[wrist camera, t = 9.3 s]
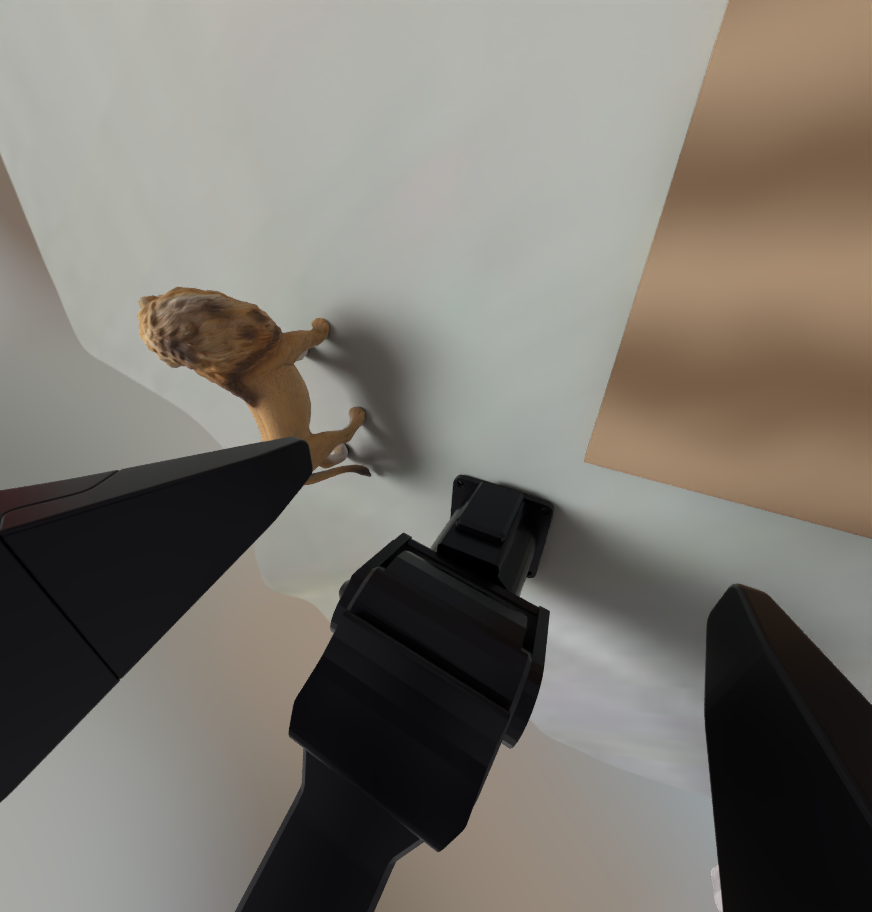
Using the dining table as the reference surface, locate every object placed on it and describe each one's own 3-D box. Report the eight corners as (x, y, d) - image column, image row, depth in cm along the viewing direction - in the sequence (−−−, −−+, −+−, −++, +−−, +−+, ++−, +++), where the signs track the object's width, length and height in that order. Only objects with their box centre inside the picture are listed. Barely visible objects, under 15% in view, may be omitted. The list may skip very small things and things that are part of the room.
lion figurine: (252, 294, 25) (103, 318, 18) (299, 257, 22) (140, 268, 15) (353, 476, 29) (263, 551, 23) (402, 466, 26) (316, 549, 19)
